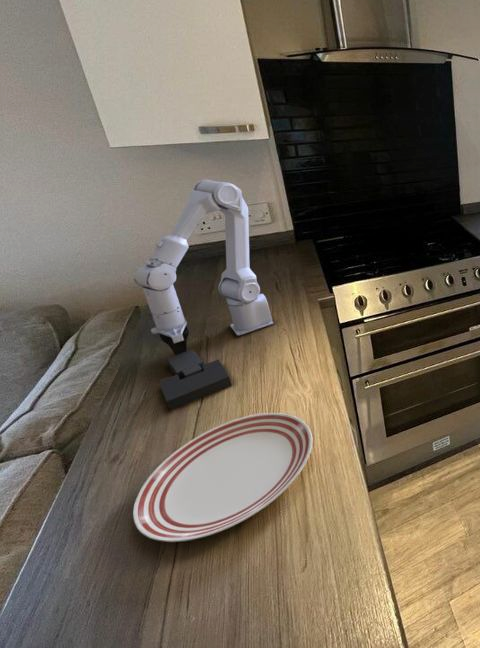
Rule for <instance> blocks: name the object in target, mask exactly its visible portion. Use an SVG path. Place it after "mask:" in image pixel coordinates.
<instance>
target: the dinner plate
mask: <svg viewBox="0 0 480 648" xmlns="http://www.w3.org/2000/svg"><path fill="white" fill-rule="evenodd" d="M313 440H314V438H313V434H312V430H311V428H310V427H309V425H308V424H307V423H306V422H305V421H304V420H302V419H301V418H300V417H298V416H295V415H293V414H288V413H285V412H284V413H283V412H264V413H263V412H262V413H256V414H251V415H246V416H242V417H239V418H236V419H232V420H230V421H227V422H224V423H222V424H220V425H217V426H215V427H213V428H210V429H209V430H207V431H205V432H203V433H201V434H199V435H198V436H195V437H194V438H193V439H191V440H190V441H188V442H186V443H185V444H183V445H182V446H180V447H179V448H178V449H176V450H175V451H174V452H173V453H171V455H169V456H168V457H166V458H165V459H164V460H163V461H162V462H161V463H160V464H159V465H158V466H157V467H156V468H155V470H153V471H152V473H151V474H150V475H149V476H148V477H147V478H146V481H145V482H144V483H143V485H141V487H140V490H139V492H138V493H137V496H136V498H135V501H134V504H133V509H132V518H133V523H134V526H135V528H136V529H137V531H138V532H139V533H140V534H142V535H143V536H144V537H146V538H148V539H151V540H154V541H158V542H163V543H164V542H166V543H178V542H188V541H194V540H197V539H202V538H205V537H206V538H207V537H208V536H212V535H215V534H218V533H221V532H223V531H225V530H227V529H230V528H232V527H235V526H236V525H238V524H240V523H242V522H245V521H246V520H248V519H249V518H251V517H253V516H255V515H256V514H257V513H259V512H260V511H262V510H263V509H265V508H266V507H268V506H269V505H270V504H271V503H273V502H274V501H275V500H277V498H279V497H280V496H282V495H283V493H284V492H285V491H286V490H288V488H289V487H291V485H292V484H293V483H294V482H295V480H296V479H297V478H298V477H299V476H300V474H301V472H303V469H304V468H305V466H306V464H307V462H308V460H309V458H310V455H311V453H312V449H313V443H314V441H313Z"/></svg>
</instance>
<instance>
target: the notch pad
mask: <svg viewBox="0 0 480 648" xmlns="http://www.w3.org/2000/svg"><path fill="white" fill-rule="evenodd" d="M203 364H204V363H203ZM202 368H203V371H202V372H200V373H197V374H195V375H192V376H189V377H187V378H184V379H181V380H180V379H179V376H178V374H177V375H175V374H174V375H172V376H170V377H166V378H164V379H161V380H159V381H158V384H159V386H160V389H161V390H162V394H163V397H164V399H165V402H166V405H167V407H168V410H169V411H172V410H175V409H177V408H179V407H182V406H183V405H186V404H188V403H192V402H194V401H196V400H198V399H201V398H203V397H205V396H208V395H211V394H213V393H215V392H219V391H221V390H223V389H225V388H227V387H230V386H232V385H233V384H232V381H231V378H230V376H229V374H228V372H227V370H226V369H225V367H224V366H223V364H222V363H221V361H220V359H215V360H213V361H210V362H207V363H205V364H204V365H202Z"/></svg>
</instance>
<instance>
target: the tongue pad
mask: <svg viewBox="0 0 480 648" xmlns="http://www.w3.org/2000/svg"><path fill="white" fill-rule="evenodd" d="M166 360H167V363H168V367H169V368H170V370H171V371H172V372H173V374H174V376H175V375H177V374H178V376H179V379H180V380H181V379H184V378H187V377H189V376H192V375H195V374H197V373H200V372H202V371H203V368H202V365H204V361H202V359H201V358H200V357H199V355H197V353H196V351H194V349H193V348H191V349H189V350H188V349H187V351H185V352H183V353H180V354H177V355H175V354H174V355H172V356H169V357H166Z"/></svg>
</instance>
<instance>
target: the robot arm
mask: <svg viewBox="0 0 480 648" xmlns="http://www.w3.org/2000/svg"><path fill="white" fill-rule="evenodd" d="M217 211H219V212H221V213H222V214H224V229H225V230H224V231H225V232H224V233H225V260H226V261H225V262H226V263H225V264H226V265H225V267H226V269H225V270H223V272H221V279H220V282H219V283H218V287H217V288H218V293H219V294H220V295H221V296H222V297H225V300H226V303H227V306H228V310H229V315H230V316H231V320H232V323H231V324H230V325H229V326H230V329H232V330H233V332H234V334H235V335H236V336H238V337H239V336H242V335H246V334H249V333H251V332H254V331H256V330H259V329H262V328H265V327H268V326H272V325H273V324H274V321H273V317H272V314H271V310H270V306H269V302H268V300H267V297H266V295H264V293H261V287H260V284H259V283H258V281H257V275H256V274H255V273H254V271H253V270H252V269H251V267H250V228H249V227H250V225H249V224H250V223H249V207H248V205H247V203H246V201H245V199H244V198H243V191H242V189H241V188H239V187H238V186H237V185H235V184H233V183H231V182H227V181H226V182H225V181H224V182H223V181H217V180H216V181H215V180H211V179H207V178H206V179H200V180H199V181H197V182H196V183H195V184H194V186H193V188H192V190H191V191H190V192H189V193H188V199H187V202H186V205H185V207H184V209H183V211H182V212H181V214H180V216H179V218H178V220H177V222H176V224H175V226H174V228H173V230H172V231H171V234H169V235H166V236H163V237H161V239H160V240H157V241H156V242H155V244H154V246H155V248H154V250H153V251H152V253H151V255H150V256H149V258H148V259H146V260H145V262H144V264H143V265H142V266H140V267H139V268H138V269H137V270H136V271H135V274H134V277H135V278H133V281H134V283H135V284H136V285H138V286H140V287H142V290H143V294H144V296H145V300H146V302H147V305H148V307H149V310H150V313H151V316H152V320H153V322H154V324H155V327H152V328H151V329H150V332H151V334H153V335H155V334H158V335H159V338H160V340H161V341H162V342H163V343H165V344H166V345H167V346H168V347H169V348H170V350H171V351H172V352H173V354H174V356H175V355H177V354H180V353H183V352H185V351H188V344H187V343H188V336H189V334H190V330H189V328H188V326H187V324H188V321H187V319H186V318H185V316H184V312H183V309H182V306H181V304H180V301H179V298H178V295H177V291H176V289H175V286H174V283H175V282H176V281H177V274H176V272H177V268H178V266H179V265H180V263H181V261H182V260H183V258H184V256H185V254H186V253H187V252H188V249H189V248H190V246H189V243H188V239H189V238H190V236H191V235H192V234H193V232H194V231H195V229H196V228H197V226H198V225H199V224H200V222H201V221H202V220H203V218H204V217H205V215H207V214H210V213H212V212H213V213H214V212H217Z"/></svg>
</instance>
